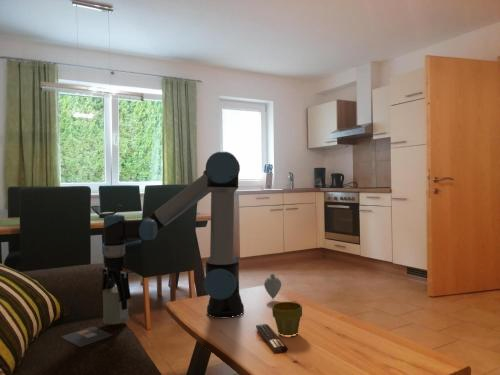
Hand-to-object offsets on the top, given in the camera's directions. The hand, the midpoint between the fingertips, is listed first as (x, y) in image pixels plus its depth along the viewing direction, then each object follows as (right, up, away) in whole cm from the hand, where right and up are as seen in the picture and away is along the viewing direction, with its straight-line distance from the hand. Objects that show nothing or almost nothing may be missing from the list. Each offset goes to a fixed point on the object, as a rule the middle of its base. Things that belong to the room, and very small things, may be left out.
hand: (115, 315), depth 142 cm
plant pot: (+64, -3, -12) cm, 65 cm away
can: (0, -2, 0) cm, 2 cm away
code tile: (-7, -4, -10) cm, 13 cm away
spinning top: (+61, -3, +27) cm, 67 cm away
